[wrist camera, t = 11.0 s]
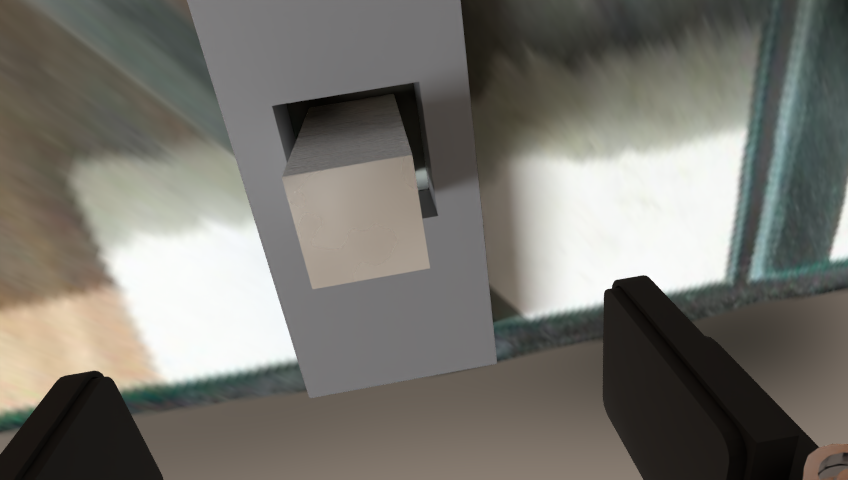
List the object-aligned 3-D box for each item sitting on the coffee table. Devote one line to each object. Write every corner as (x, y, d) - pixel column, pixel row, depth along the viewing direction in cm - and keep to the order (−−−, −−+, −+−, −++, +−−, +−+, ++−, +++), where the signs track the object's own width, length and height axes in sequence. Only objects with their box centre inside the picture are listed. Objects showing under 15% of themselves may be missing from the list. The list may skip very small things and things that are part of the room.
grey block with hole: (427, -176, 21) (439, -204, 18) (483, 325, 32) (496, 363, 28) (171, -139, 21) (137, -160, 17) (314, 356, 31) (309, 398, 28)
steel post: (393, 93, 25) (412, 154, 16) (406, 173, 27) (430, 268, 18) (309, 107, 25) (281, 177, 16) (328, 187, 27) (312, 289, 18)
